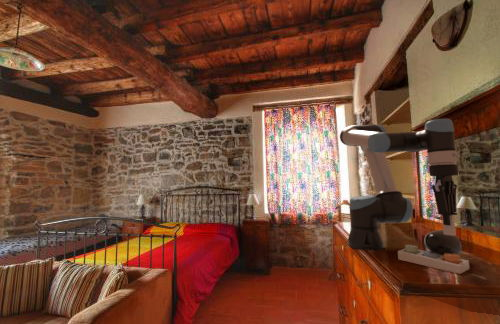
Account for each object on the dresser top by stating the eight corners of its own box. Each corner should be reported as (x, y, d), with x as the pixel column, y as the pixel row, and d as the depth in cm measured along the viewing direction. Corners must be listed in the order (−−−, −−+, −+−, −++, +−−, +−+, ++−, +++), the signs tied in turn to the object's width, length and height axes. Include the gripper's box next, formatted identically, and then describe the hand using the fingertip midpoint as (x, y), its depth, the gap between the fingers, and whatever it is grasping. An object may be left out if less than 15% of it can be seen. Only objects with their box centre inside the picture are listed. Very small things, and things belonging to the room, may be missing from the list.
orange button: (442, 262, 76) (441, 254, 76) (447, 259, 78) (446, 252, 78) (457, 265, 73) (457, 257, 73) (462, 263, 75) (461, 255, 75)
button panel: (398, 259, 86) (397, 251, 86) (408, 255, 90) (408, 247, 90) (460, 275, 71) (459, 265, 71) (469, 270, 75) (468, 260, 75)
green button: (403, 252, 86) (402, 245, 87) (408, 250, 88) (408, 244, 89) (415, 255, 83) (414, 248, 83) (420, 253, 85) (420, 246, 85)
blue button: (421, 259, 81) (421, 252, 81) (427, 257, 83) (426, 250, 83) (435, 263, 78) (434, 255, 78) (440, 260, 80) (439, 253, 80)
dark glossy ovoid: (461, 264, 84) (445, 263, 77) (428, 250, 93) (411, 248, 85) (469, 238, 84) (454, 234, 76) (436, 226, 93) (419, 222, 85)
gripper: (448, 163, 71) (456, 240, 70) (464, 163, 78) (472, 234, 76) (420, 165, 78) (427, 235, 76) (437, 165, 84) (444, 230, 83)
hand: (449, 234), depth 76 cm, fingers closed
